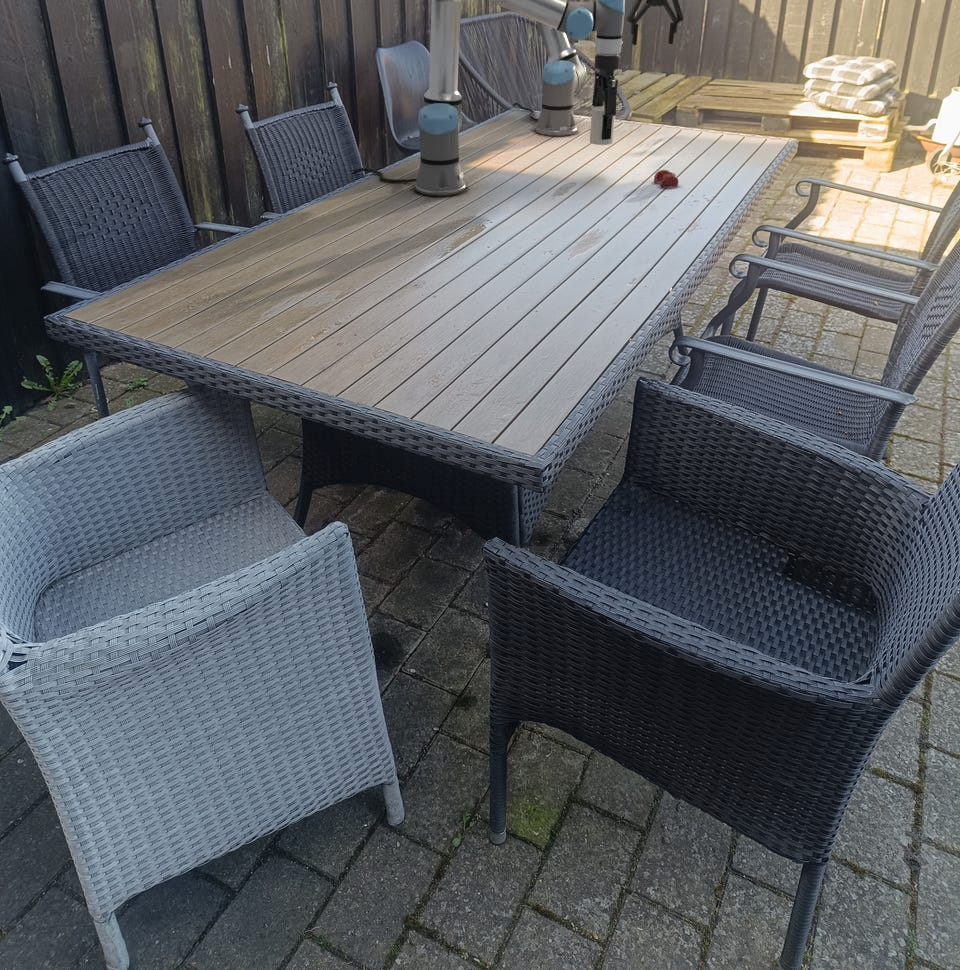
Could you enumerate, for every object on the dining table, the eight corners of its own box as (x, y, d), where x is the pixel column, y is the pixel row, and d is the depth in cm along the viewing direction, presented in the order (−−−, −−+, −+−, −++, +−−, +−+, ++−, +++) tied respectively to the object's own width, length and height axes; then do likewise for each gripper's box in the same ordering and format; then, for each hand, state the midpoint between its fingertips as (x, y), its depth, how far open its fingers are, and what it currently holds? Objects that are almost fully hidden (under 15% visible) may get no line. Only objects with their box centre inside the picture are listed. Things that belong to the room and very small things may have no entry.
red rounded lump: (669, 166, 264) (680, 173, 258) (668, 179, 266) (679, 187, 260) (653, 168, 263) (663, 175, 257) (652, 181, 265) (662, 189, 259)
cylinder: (595, 145, 258) (598, 112, 253) (585, 140, 264) (588, 107, 258) (617, 143, 260) (620, 110, 254) (606, 138, 266) (609, 105, 260)
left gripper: (632, 59, 240) (624, 143, 254) (608, 48, 256) (602, 127, 270) (607, 60, 239) (601, 144, 252) (584, 49, 255) (579, 129, 268)
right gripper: (628, -24, 286) (622, 46, 298) (698, -25, 289) (689, 44, 301) (621, -26, 292) (615, 43, 304) (690, -27, 295) (681, 41, 308)
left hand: (601, 135), depth 261 cm, fingers closed on cylinder, 7 cm apart
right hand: (652, 44), depth 303 cm, fingers open, 13 cm apart
